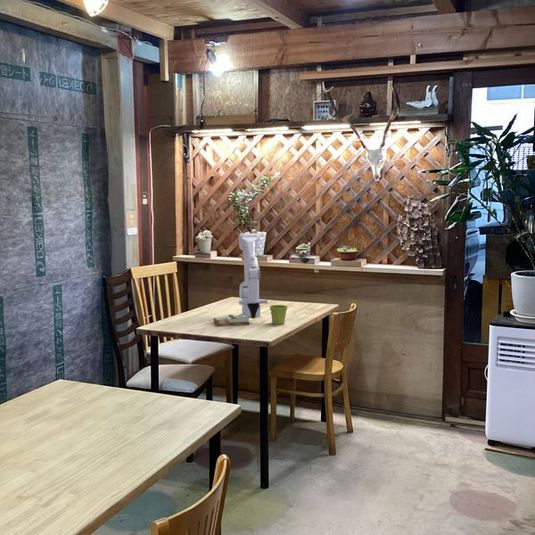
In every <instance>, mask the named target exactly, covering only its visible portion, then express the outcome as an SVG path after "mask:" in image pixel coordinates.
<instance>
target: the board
mask: <svg viewBox="0 0 535 535" xmlns="http://www.w3.org/2000/svg"><path fill="white" fill-rule="evenodd" d="M228 316H230V317H231V318H232V319H235V318H236V316H237V315H234V314H228ZM213 323H214V325H215V326H217V327H227V326H226V325H230V326H244V325H245V326H246V325H250V321H249V322H233V323H229V322H228V321H226V320H225V319H217V318H216V317H213Z"/></svg>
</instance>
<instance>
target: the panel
mask: <svg viewBox="0 0 535 535" xmlns="http://www.w3.org/2000/svg"><path fill="white" fill-rule="evenodd" d="M235 316H236V318H235V319H232V318H231V317H230V316H229V315H227V316H226V315H225V317H224V318H225V319H224V320H226V321H228V322H229V323H233V322H249V323H250V321H249V318H250V317H246V316H245V315H242V316H241V315H235Z"/></svg>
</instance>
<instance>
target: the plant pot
mask: <svg viewBox="0 0 535 535" xmlns="http://www.w3.org/2000/svg"><path fill="white" fill-rule="evenodd" d="M269 308H270V314H271V321H272V322H271V323H272V324H274V325H283V324H285V322H286V316H287V311H288V308H289V306H288V305H284V304H271V305H269Z"/></svg>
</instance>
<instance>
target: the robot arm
mask: <svg viewBox="0 0 535 535" xmlns="http://www.w3.org/2000/svg"><path fill="white" fill-rule="evenodd" d="M238 244H239V245H238V247H239V250H241V251H242V253H243V268H244V281H242V282H241V283H240V285H239V292H238V293H239V299H241V300H238V305H239V306H241V312H242V313H239V316H242V315H245V316H246V317H248V318H251V319H254V320H255V319H256V317H258V318H259V317H261V305H262V304H263V305H267V304H268V299H262V298H261V299H260V280H261V279H260V278H261V270H260V269H261V268H260V266H259V263H258V258H257V256H255V252H256V251H255V250H257V247H258V246H259V234H258V233H257V232H255V233H253V232H252V233H245V232H244V233H242V232H240V233H239V234H238Z"/></svg>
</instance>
